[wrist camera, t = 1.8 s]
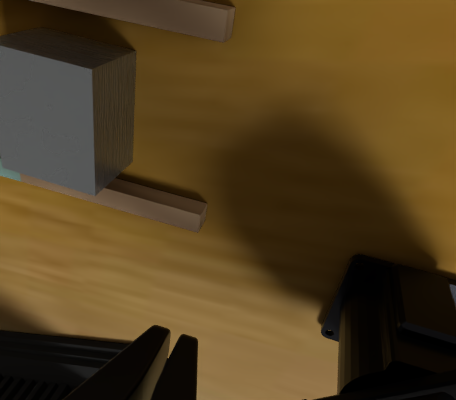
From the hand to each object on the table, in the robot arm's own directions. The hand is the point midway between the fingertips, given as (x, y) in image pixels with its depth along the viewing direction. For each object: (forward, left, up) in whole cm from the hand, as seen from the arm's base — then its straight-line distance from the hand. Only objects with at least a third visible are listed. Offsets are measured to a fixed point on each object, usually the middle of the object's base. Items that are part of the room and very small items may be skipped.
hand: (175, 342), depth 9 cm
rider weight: (0, +9, -12) cm, 15 cm away
